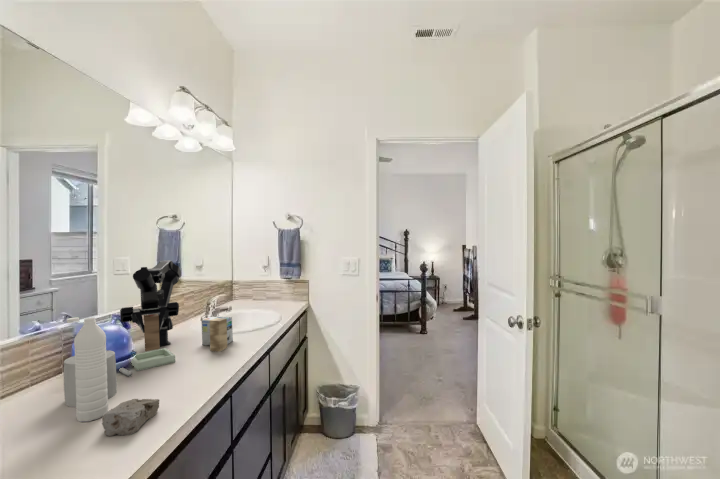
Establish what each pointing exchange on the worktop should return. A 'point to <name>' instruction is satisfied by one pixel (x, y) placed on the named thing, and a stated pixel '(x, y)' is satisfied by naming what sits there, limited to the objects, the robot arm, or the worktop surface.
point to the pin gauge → (125, 372)
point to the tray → (152, 359)
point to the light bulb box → (207, 330)
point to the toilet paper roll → (70, 378)
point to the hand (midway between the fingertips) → (151, 331)
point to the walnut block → (151, 332)
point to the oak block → (218, 334)
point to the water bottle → (90, 371)
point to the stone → (129, 416)
